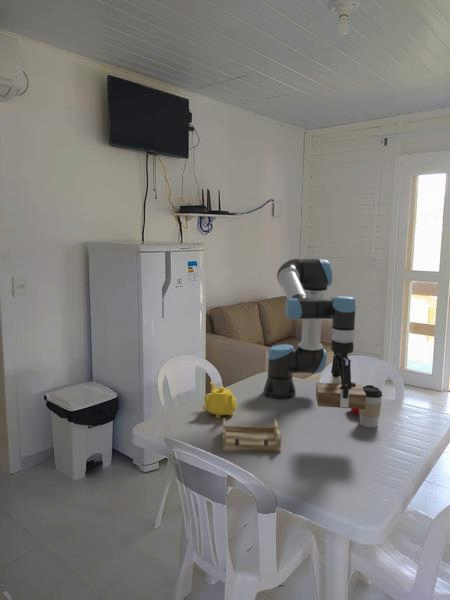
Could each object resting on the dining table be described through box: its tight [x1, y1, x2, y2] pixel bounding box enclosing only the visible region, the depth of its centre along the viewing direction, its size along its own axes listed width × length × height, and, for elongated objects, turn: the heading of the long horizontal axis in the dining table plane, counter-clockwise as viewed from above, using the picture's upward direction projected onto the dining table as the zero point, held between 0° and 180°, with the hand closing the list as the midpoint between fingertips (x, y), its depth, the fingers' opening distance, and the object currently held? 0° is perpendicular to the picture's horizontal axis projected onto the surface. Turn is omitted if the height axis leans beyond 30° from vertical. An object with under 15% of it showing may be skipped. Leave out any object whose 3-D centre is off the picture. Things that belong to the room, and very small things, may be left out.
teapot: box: [202, 380, 238, 419], centre depth 187 cm, size 20×15×12 cm
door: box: [315, 381, 366, 409], centre depth 159 cm, size 11×16×6 cm
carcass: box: [221, 417, 282, 454], centre depth 162 cm, size 16×20×6 cm
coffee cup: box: [358, 384, 383, 428], centre depth 178 cm, size 9×9×15 cm
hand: (339, 400), depth 160 cm, fingers closed on door, 11 cm apart
